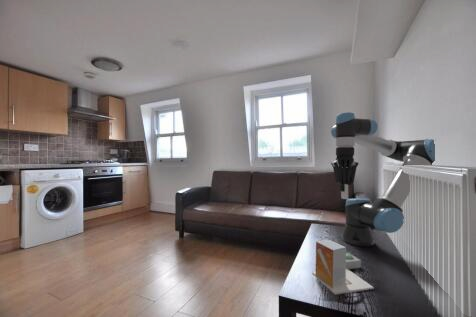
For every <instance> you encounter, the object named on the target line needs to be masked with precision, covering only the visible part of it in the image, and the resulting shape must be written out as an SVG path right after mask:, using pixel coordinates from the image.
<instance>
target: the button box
mask: <svg viewBox="0 0 476 317" xmlns="http://www.w3.org/2000/svg"><path fill="white" fill-rule="evenodd" d="M346 253H347V254H350V255H352V259H349V260H346V268H347V269H348V270H351V269H352V270H354V269H361V268H362V260H361V259H359V258H358V257H356V256H355V255H353V254H351V253H349V252H346ZM360 267H361V268H360Z"/></svg>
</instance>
